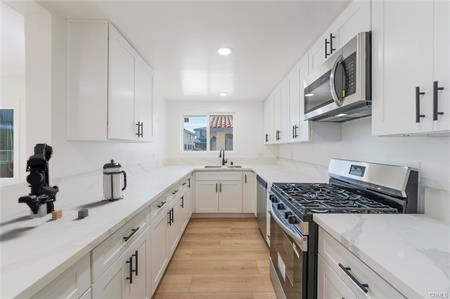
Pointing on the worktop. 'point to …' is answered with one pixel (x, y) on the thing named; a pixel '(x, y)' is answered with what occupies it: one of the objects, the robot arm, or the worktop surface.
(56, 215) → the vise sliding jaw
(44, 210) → the steel block
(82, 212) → the block
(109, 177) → the coffee press
